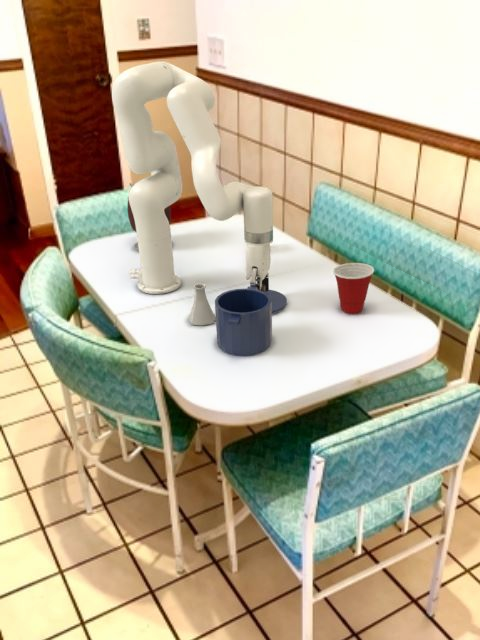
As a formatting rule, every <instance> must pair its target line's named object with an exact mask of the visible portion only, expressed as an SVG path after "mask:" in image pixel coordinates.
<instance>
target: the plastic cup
mask: <svg viewBox="0 0 480 640" xmlns="http://www.w3.org/2000/svg"><path fill="white" fill-rule="evenodd" d="M374 272H375V268H374V266H372V265H370V264H367V263H361V262H349V263H347V262H346V263H342V264H339V265H336V266H334V268H333V269H332V273H333V275H334V277H335V281H336V286H337V293H338V299H339V305H340V310H341V311H342V312H343V313H345V314H348V315H358V314H360V313H361V312H362V311H363V309H364V307H365V306H364V305H365V301H366V299H367V294H368V291H369V286H370V283H371V279H372V276H373V274H374Z"/></svg>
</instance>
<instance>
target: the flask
mask: <svg viewBox="0 0 480 640" xmlns="http://www.w3.org/2000/svg"><path fill="white" fill-rule="evenodd" d="M206 287H207V284H205V283H202V282H199V283H195V284H194V285H193V289H194V298H193V303H192V306H191V311H190V313H189V316H188V321H189V323H190V324H191V325H194V326H207V325H211V324H213V323H214V321H216V315H215V313H214V311H213V309H212V307H211V305H210V303H209V301H208V298H207V293H206V289H207V288H206Z"/></svg>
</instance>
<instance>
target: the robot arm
mask: <svg viewBox="0 0 480 640" xmlns="http://www.w3.org/2000/svg"><path fill="white" fill-rule="evenodd" d="M162 98H166V106H167V109H168V111H169V113H170V116H171V118H172V120H173V121H174V124H175V125H176V127H177V130H178V131H179V133H180V135H181V137H182V140H183V141H184V143H185V145H186V147H187V149H188V152H189V154H190V157H191V158H190V159H191V162H190V163H191V165H190V166H191V176H192V181H193V186H194V189H195V191H196V194H197V196H198V198H199V200H200V202H201V204H202V206H203V208H204V209H205V211H206V213H207V214H208V215H209V216H210V217H211V218H213V219H214V220H216V221H220V222H224V221H227V220H229V219H231V218H232V217H234V216H235V215H237V214H239V213H241V212H243V229H244V230H243V234H244V237H243V239H244V243H245V244H246V249H245V280H246V281H249V280H250V281H249V286H250V287H257V290H259V291H262V290H261V284H264V285H265V291H268V290H270V279H269V271H270V268H271V244H272V243H273V242H274V196H273V195H274V194H273V191H272V190H271V189H270V188H269V187H266V186H261V185H260V186H259V185H257V186H254V185H251V184H247V183H244V182H241V181H230V182H229V183H227V184H225V185H224V186H223V185H222V183H221V180H220V177H219V175H218V170H217V169H218V168H217V162H218V161H217V160H218V155H219V152H220V149H221V145H222V139H221V137H220V134H219V132H218V130H217V128H216V126H215V124H214V122H213V120H212V118H211V115H210V113H209V112H210V111H212V109H213V108H214V106H215V103H216V102H215V101H216V99H215V93H214V90H213V89H212V87H211V85H210V84H208V83H207V82H206V81H205V80H203V79H202V78H200V77H198V76H196V75H194V74H192V73H190V72H189V71H187V70H184V69H182V68H180V67H178V66H176V65H174V64H172V63H171V62H167V61H161V60H160V61H154V62H150V63H145V64H144V63H143V64H139V65H136V66H132V67H130V68H128V69H125V70H124V71H122V72H121V73H120V74H119V75H118V76H117V77H116V79H115V80H114V82H113V85H112V88H111V99H112V105H113V108H114V111H115V114H116V118H117V122H118V125H119V133H120V137H121V141H122V147H123V151H124V157H125V160H126V164H127V166H128V168H129V170H130V171H131V172H132V173H134V174H136V175H140V176H142V175H146V174H147V175H148V174H149V173H150V175H148V176H146V177H144V178H142V179H140V180H138V181H137V182H135V183H134V184H133V185H134V186H133V187H131V188H130V191H129V193H128V196H129V203H130V207H131V210H132V213H133V216H134V220H135V226H136V232H135V233H136V239H137V242H138V248H139V252H138V255H139V263H140V264H139V265H140V269H135V268H130V269H129V277H130V279H133V280H134V279H137V280H138V281H137V289H138V290H139V291H141V292H142V293H146V294H149V295H160V294H161V295H163V294H167V293H171V292H173V291H176V290H177V289H178V288H180V286H181V284H182V281H181V278H180V277H179V276H178V275H175V274H176V273H175V264H174V253H173V252H174V251H173V243H172V232H171V231H172V230H171V223H170V224H169V221H168V219H167V217H166V215H165V212H164V209H165V208H166V207H168V206H170V207H171V205H173V204H174V203H176V202H178V201H179V199H180V198H181V197H182V194H183V179H182V173H181V168H180V161H179V155H178V151H177V147H176V144H175V142H174V140H173V138H171V136H170V135H169V134H167V133H166V132H164V131H161V130H154V125H153V121H152V117H151V114H150V112H149V110H148V108H147V107H146V106H145V104H146V103H148V102H152V101H155V100H158V99H162ZM258 284H259V286H258Z"/></svg>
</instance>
